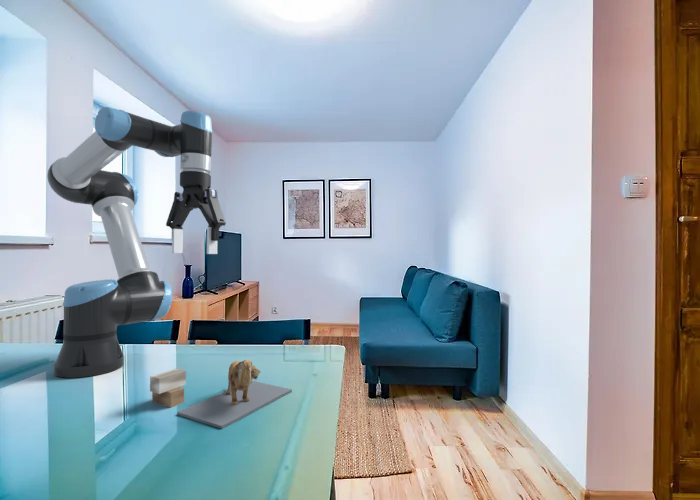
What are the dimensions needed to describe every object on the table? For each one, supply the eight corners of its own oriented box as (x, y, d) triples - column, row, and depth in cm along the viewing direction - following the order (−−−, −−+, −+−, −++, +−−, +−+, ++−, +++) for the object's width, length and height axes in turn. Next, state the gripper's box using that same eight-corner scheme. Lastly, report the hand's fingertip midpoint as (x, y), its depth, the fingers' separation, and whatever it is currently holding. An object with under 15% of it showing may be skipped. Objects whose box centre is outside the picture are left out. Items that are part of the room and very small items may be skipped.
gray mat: (177, 414, 70) (177, 411, 70) (251, 382, 87) (251, 380, 87) (221, 428, 64) (221, 426, 64) (291, 391, 82) (291, 389, 82)
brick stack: (145, 404, 75) (145, 375, 75) (171, 394, 80) (172, 367, 80) (164, 410, 72) (164, 380, 72) (190, 400, 77) (190, 371, 77)
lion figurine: (262, 405, 73) (262, 360, 73) (235, 412, 70) (236, 365, 70) (239, 384, 85) (240, 345, 85) (216, 388, 82) (216, 348, 82)
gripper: (152, 174, 98) (151, 252, 98) (217, 164, 86) (215, 254, 86) (177, 179, 105) (176, 252, 105) (241, 171, 93) (239, 254, 93)
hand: (194, 253), depth 96 cm, fingers open, 13 cm apart
